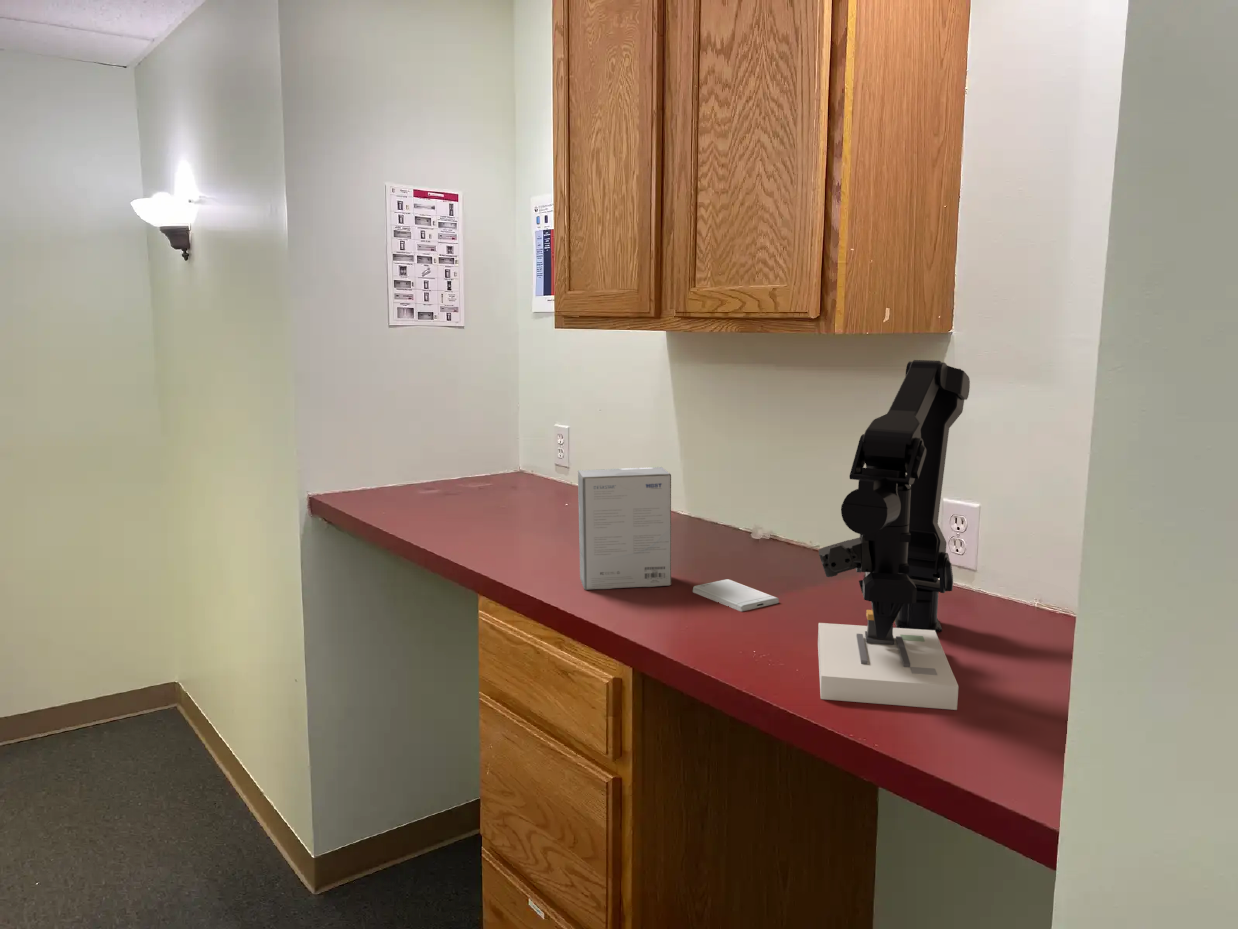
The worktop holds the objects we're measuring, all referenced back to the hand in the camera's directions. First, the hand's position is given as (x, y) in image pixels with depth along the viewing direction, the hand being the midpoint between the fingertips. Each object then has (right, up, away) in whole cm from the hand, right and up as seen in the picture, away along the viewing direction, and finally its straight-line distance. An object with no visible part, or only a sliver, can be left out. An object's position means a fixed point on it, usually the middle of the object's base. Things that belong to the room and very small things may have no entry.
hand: (880, 638), depth 123 cm
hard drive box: (-34, +2, +40) cm, 52 cm away
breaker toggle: (+1, -1, +3) cm, 3 cm away
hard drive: (-15, 0, +31) cm, 35 cm away
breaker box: (0, -4, -1) cm, 5 cm away
